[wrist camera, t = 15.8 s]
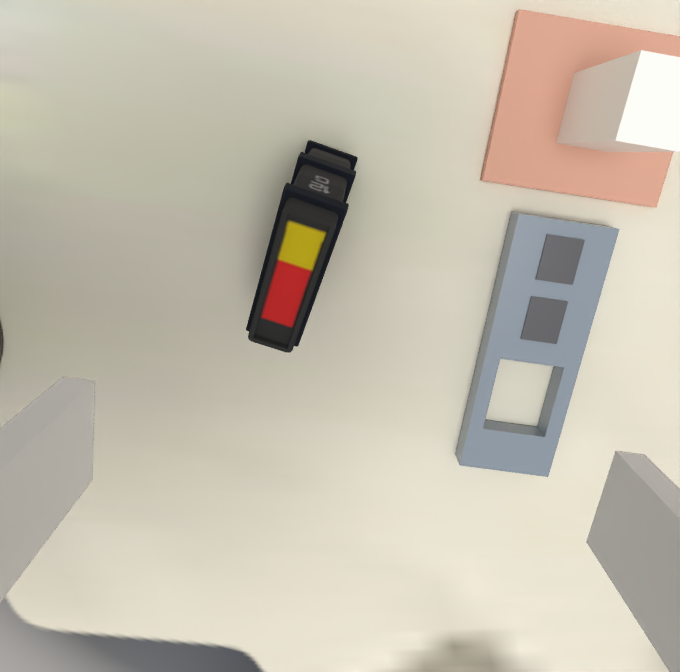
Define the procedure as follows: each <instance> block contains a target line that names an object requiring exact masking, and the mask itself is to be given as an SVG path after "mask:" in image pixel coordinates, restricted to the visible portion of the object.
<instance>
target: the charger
mask: <svg viewBox="0 0 680 672" xmlns="http://www.w3.org/2000/svg"><path fill="white" fill-rule="evenodd" d="M556 143H557V144H563V145H569V146H574V147H580V148H586V149H592V150H597V151H603V152H679V151H680V57H676V56H670V55H665V54H660V53H654V52H649V51H643V50H640V51H637V52H634V53H631V54H629V55H626V56H623V57H620V58H617V59H614V60H611V61H608V62H605V63H602V64H599V65H596V66H593V67H590V68H587V69H584V70H581V71H578V72H576V73H574V76H573V80H572V84H571V88H570V91H569V95H568V99H567V103H566V107H565V111H564V115H563V118H562V122H561V126H560V130H559V134H558V138H557V142H556Z"/></svg>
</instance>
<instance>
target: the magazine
mask: <svg viewBox="0 0 680 672" xmlns="http://www.w3.org/2000/svg"><path fill="white" fill-rule="evenodd" d="M356 162H357V157H356V156H353V155H350V154H347V153H344V152H342V151H339V150H336V149H333V148H330V147H328V146H325V145H322V144H319V143H316V142H313V141H311V140H309V141H308V143H307V146H306V150H305V153H303V152H301V153H300V155H299V157H298V160H297V164H296V167H295V171H294V175H293V178H292V182H291V184H289V183H286V185H285V187H284V190H283V193H282V197H281V201H280V205H279V208H278V212H277V216H276V220H275V223H274V227H273V231H272V234H271V238H270V242H269V246H268V249H267V253H266V257H265V261H264V264H263V268H262V272H261V275H260V279H259V283H258V287H257V290H256V294H255V298H254V302H253V305H252V309H251V313H250V316H249V320H248V324H247V328H246V330H247V331H249V335H248V338H249V340H251V341H252V342H255V343H258V344H262V345H265V346H268V347H271V348H274V349H277V350H281V351H284V352H291V351H292V350H293V347H294V346H298V345H299V342H300V339H301V337H302V334H303V331H304V328H305V326H306V323H307V320H308V317H309V315H310V312H311V309H312V306H313V304H314V301H315V298H316V295H317V293H318V290H319V287H320V284H321V282H322V279H323V276H324V273H325V271H326V268H327V265H328V262H329V260H330V257H331V254H332V251H333V249H334V246H335V243H336V240H337V238H338V235H339V232H340V229H341V227H342V224H343V221H344V218H345V216H346V213H347V210H348V204H347V203H346V201H347V198H348V195H349V192H350V190H351V187H352V184H353V181H354V178H355V175H356V171H354V168H355V165H356Z"/></svg>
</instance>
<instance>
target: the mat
mask: <svg viewBox="0 0 680 672" xmlns="http://www.w3.org/2000/svg"><path fill="white" fill-rule="evenodd" d="M640 50H643V51H649V52H654V53H660V54H665V55H670V56H676V57H680V37H679V36H673V35H667V34H661V33H655V32H649V31H643V30H637V29H632V28H626V27H620V26H614V25H608V24H602V23H596V22H590V21H584V20H579V19H573V18H567V17H561V16H555V15H549V14H543V13H537V12H532V11H526V10H520V9H519V10H518V11H517V12H516V15H515V20H514V24H513V29H512V34H511V39H510V43H509V48H508V53H507V57H506V62H505V67H504V71H503V76H502V81H501V86H500V90H499V95H498V100H497V104H496V109H495V114H494V118H493V123H492V128H491V133H490V137H489V142H488V147H487V151H486V156H485V161H484V166H483V170H482V175H481V180H482V181H488V182H495V183H501V184H508V185H514V186H521V187H527V188H534V189H540V190H546V191H553V192H559V193H566V194H572V195H579V196H585V197H591V198H598V199H604V200H611V201H617V202H624V203H630V204H637V205H643V206H649V207H657V204H658V201H659V197H660V194H661V191H662V187H663V184H664V181H665V178H666V174H667V171H668V168H669V164H670V161H671V158H672V154H673V152H603V151H597V150H592V149H586V148H580V147H574V146H569V145H563V144H557V143H556V142H557V138H558V134H559V130H560V126H561V122H562V118H563V115H564V111H565V107H566V103H567V99H568V95H569V91H570V88H571V84H572V80H573V76H574V73H576V72H578V71H581V70H584V69H587V68H590V67H593V66H596V65H599V64H602V63H605V62H608V61H611V60H614V59H617V58H620V57H623V56H626V55H629V54H631V53H634V52H637V51H640Z"/></svg>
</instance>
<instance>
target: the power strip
mask: <svg viewBox="0 0 680 672" xmlns="http://www.w3.org/2000/svg"><path fill="white" fill-rule="evenodd" d="M618 232H619V229H617V228H613V227H609V226H604V225H597V224H591V223H584V222H578V221H571V220H565V219H558V218H552V217H545V216H539V215H532V214H526V213H519V212H513V211H511V216H510V220H509V224H508V229H507V233H506V237H505V242H504V246H503V250H502V255H501V259H500V263H499V268H498V272H497V276H496V281H495V285H494V289H493V294H492V298H491V302H490V307H489V311H488V315H487V319H486V324H485V328H484V332H483V337H482V341H481V345H480V350H479V354H478V358H477V363H476V367H475V371H474V376H473V380H472V384H471V389H470V393H469V397H468V402H467V406H466V410H465V415H464V419H463V423H462V428H461V432H460V436H459V440H458V445H457V449H456V453H455V454H456V457H457V460H458V462H459V465H462V466H469V467H477V468H485V469H492V470H500V471H508V472H515V473H523V474H530V475H538V476H546V477H548V475H549V472H550V468H551V465H552V462H553V458H554V455H555V451H556V448H557V444H558V441H559V437H560V434H561V430H562V427H563V423H564V420H565V416H566V413H567V409H568V406H569V402H570V399H571V395H572V392H573V388H574V385H575V382H576V378H577V375H578V371H579V368H580V364H581V361H582V357H583V354H584V350H585V347H586V343H587V340H588V336H589V333H590V329H591V326H592V322H593V319H594V315H595V312H596V309H597V305H598V302H599V298H600V295H601V291H602V288H603V284H604V281H605V277H606V274H607V270H608V267H609V263H610V260H611V256H612V253H613V249H614V246H615V242H616V239H617V236H618ZM500 359H507V360H514V361H522V362H529V363H536V364H543V365H550V366H554V368H553V372H552V375H551V379H550V383H549V386H548V390H547V394H546V397H545V401H544V405H543V408H542V412H541V416H540V419H539V423H538V427H535V426H527V425H520V424H512V423H505V422H498V421H490V420H485V418H486V414H487V410H488V406H489V402H490V398H491V394H492V389H493V385H494V381H495V377H496V373H497V369H498V365H499V361H500Z"/></svg>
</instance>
